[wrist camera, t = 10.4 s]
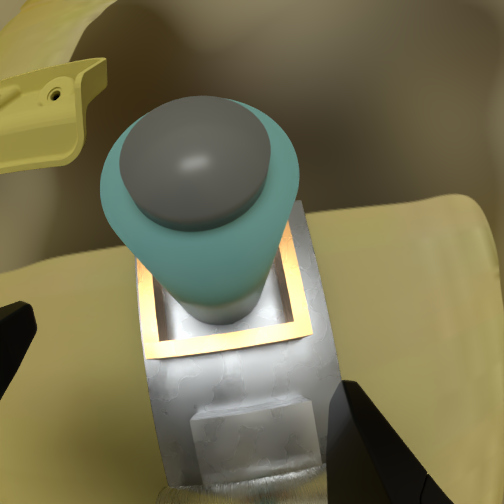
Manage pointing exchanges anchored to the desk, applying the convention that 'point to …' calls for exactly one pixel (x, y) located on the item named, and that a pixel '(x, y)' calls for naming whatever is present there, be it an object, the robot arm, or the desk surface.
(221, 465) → the motor assembly
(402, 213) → the desk surface
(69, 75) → the plastic component
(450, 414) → the desk surface
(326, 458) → the robot arm
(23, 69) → the desk surface
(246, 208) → the teal cylinder grey dome
